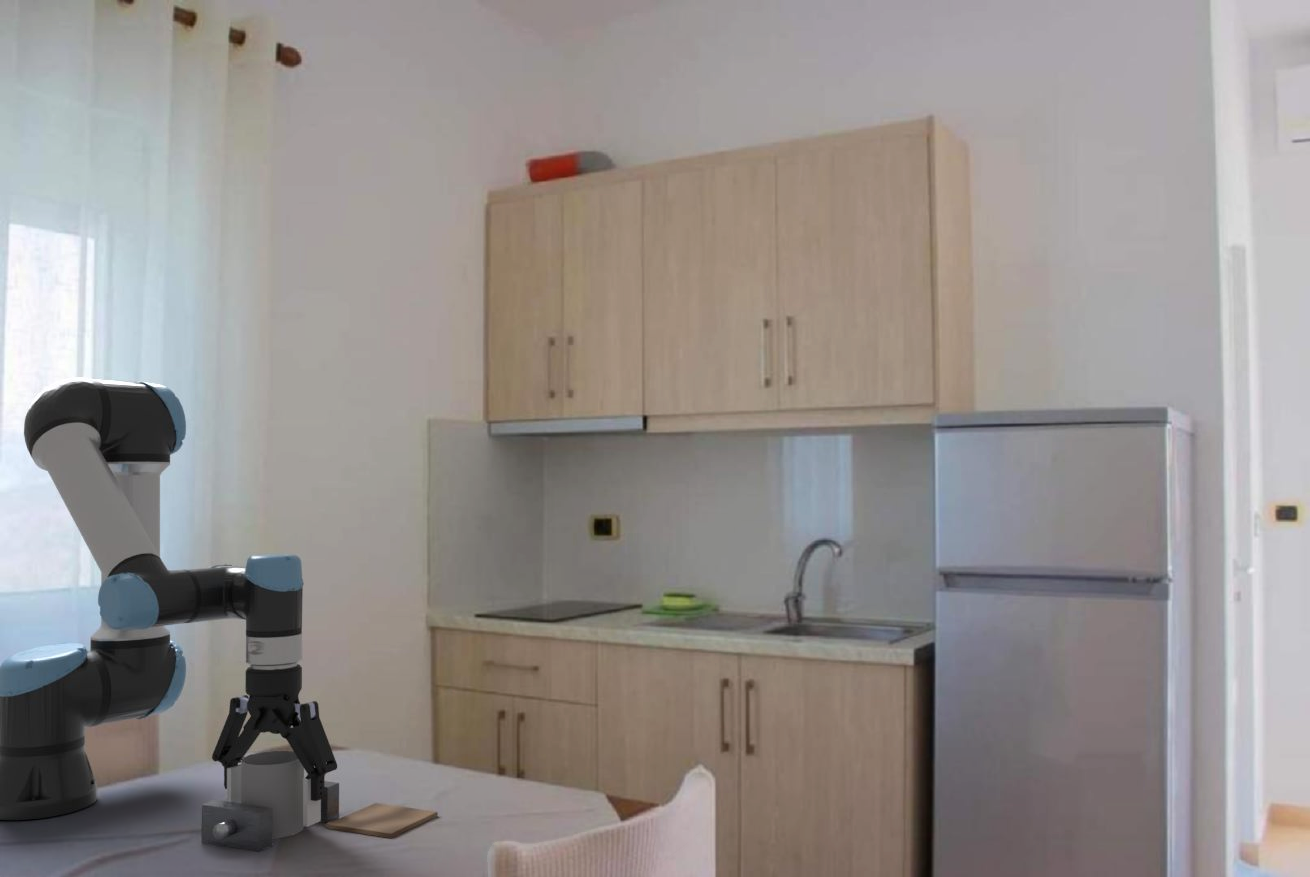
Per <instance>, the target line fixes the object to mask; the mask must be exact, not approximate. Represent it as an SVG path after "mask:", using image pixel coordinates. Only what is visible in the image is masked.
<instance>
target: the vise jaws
mask: <svg viewBox="0 0 1310 877" xmlns="http://www.w3.org/2000/svg"><path fill="white" fill-rule="evenodd" d="M339 818H340V783H339V782H334V781H326V780H324V798H323V799H321V821H320V823H325V824H327V823H330V822H332V821H334V820H337V819H339ZM272 826H273V808H268V807H261V806H254V805H248V804H241V803H234V802H228V801H227V800H221V799H214V800H211V801H209V802H206V803H203V804H201V832H200V833H201V835H200V836H201V841H200V842H201V843H204V844H211V845H216V846H223V847H228V848H236V849H239V850H246V851H251V852H258V853H260V852H261V851H264V850H267V849H268V848H269V849H270V848H271V847H273V839H272Z"/></svg>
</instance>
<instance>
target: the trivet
mask: <svg viewBox="0 0 1310 877" xmlns="http://www.w3.org/2000/svg"><path fill="white" fill-rule="evenodd" d="M438 814H439V813H438V811H437V810H436V811H435V810H428V809H421V808H414V807H413V808H412V807H407V806H399V805H391V804H385V803H378V802H375V803H373V804H370V805H368V806H366V807H363V808H361V809H358V810H356V811H354V812H351V813H349V814H346V815H343V816H341V817H339V818H338V819H335V820H333V821H331V822H328V823H325V824H326V825H325V827H326V829H329V830H335V831H336V830H337V831H343V832H347V833H348V832H349V833H357V834H360V835H361V834H362V835H369V836H375V837H382V838H387V839H392V838H395V837H397V836H398V835H401V834H402V833H404V832H407V831H408V830H411V829H413V828H415V827H417V826H420V825H422V824H423V823H426V822H427V821H429V820H432V819H434V818H436V817H438Z"/></svg>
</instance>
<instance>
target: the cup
mask: <svg viewBox="0 0 1310 877" xmlns="http://www.w3.org/2000/svg"><path fill="white" fill-rule="evenodd" d="M240 764H241V804H248V805H254V806H261V807H268V808H273V826H272V840H274V839H275V840H276V839H282V838H286V837H290V836H294V835H297V834H299V833H300V832H301V831H303V830H304V827H305V826H303V778H304V777H305V769H304V767H303V766H302V764H301V762H300V761H299V759H298V757H297V756H296V754H295V752H294V751H293V750H270V751H269V750H268V751H261V752H256V753H251V754H248V755H245V756H244V757H243V758H242V760H241V763H240Z"/></svg>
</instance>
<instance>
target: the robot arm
mask: <svg viewBox="0 0 1310 877" xmlns="http://www.w3.org/2000/svg"><path fill="white" fill-rule="evenodd" d="M186 422H187V421H186V415H185V410H184V407H183V405H182V403H181V400H180V399H179V398H178V397H177V396H176V394H175V392H174V391H172V390H171V389H170V388H169V387H167V386H164V385H162V384H157V383H150V382H146V381H140V380H137V381H130V380H129V381H128V380H115V379H114V380H113V379H110V380H109V379H96V378H95V379H94V378H93V379H92V378H85V377H70V378H65V379H62V380H59V381H56V382H53V383H52V384H50V385H49V386H46V387H45V388H44V389H43V390H42V391H41V392H39V393H38V394H37V395H36V397H35V398H34V399H33V401H32V402H31V403H30V406H28V409H27V412H26V415H25V417H24V422H23V423H24V425H23V426H24V427H23V438H24V443H25V446H26V449H27V451H28V452H29V455H30V458H32V461H33V462H34V464H35V465H36V466H37V467H38V468H40V469H41V470H44V471H47V473H48V474H49V476H50V478H51V480H52V481H53V482H52V483H53V484H54V486H55V487H56V490H57V491H58V494H59V495H60V497H61V499H62V501H63V503H64V505H65V506H66V508H67V510H68V512H69V514H70V516H71V518H72V520H73V522H74V524H75V525H76V528H77V529H78V531H79V534H80V535H81V537H82V538H83V541H84V542H85V544H86V546H87V548H88V550H89V551H90V553H91V555H92V557H93V559H94V562H95V563H96V566H97V567H98V569H99V570H100V572H101V574H100V577H101V578H100V579H101V580H100V582H101V583H100V587H99V590H98V595H97V604H98V606H99V609H100V610H99V615H100V620H101V621H100V626H99V628H98V629H97V630H96V631H94V632H93V633H92V635H91V636H90V645H89V646H90V649H89V650H88V649H87V647H86V645H84V644H83V643H79V642H78V643H77V642H76V643H75V642H73V643H72V642H67V643H66V642H63V643H59V644H54V645H53V644H49V645H42V646H37V647H35V648H33V647H32V648H29V649H26V650H23V651H20V652H17V653H14V654H12V655H10V656H9V657H7V658H6V659H4V660H3V662H2V663H1V665H0V821H26V820H34V819H35V820H36V819H44V818H50V817H51V818H52V817H56V816H60V815H66V814H70V813H73V812H77V811H80V810H83V809H85V808H88V807H89V806H91V805H93V804H94V803H96V801H97V800H98V796H97V795H98V784H97V781H96V779H95V776H94V773H93V772H94V771H93V769H92V767H91V764H90V761H89V758H88V755H87V753H86V744H85V743H86V741H85V739H86V728H90V727H96V726H97V727H98V726H102V725H106V724H112V723H117V722H125V721H129V720H135V719H136V720H143V719H147V718H148V717H150V716H155V715H159V714H163V713H165V712H167V711H168V710H169V709H171V708H172V707H173V706H174V705H175V703H176V701H178V700H179V698H180V696H181V694H182V692H183V689H184V686H185V682H186V676H187V664H186V657H185V656H183V653H184V652H183V650H182V648H181V646H180V645H179V644H178V643H176V641H173V640H171V631H170V630H169V629H168V628H167V627H165V626H172V625H179V624H193V623H200V622H210V621H217V620H228V619H230V620H231V619H233V620H234V619H235V620H245V663H246V664H247V665H248V666H249V667H247V669H246V670H245V688H244V689H245V693H246V694H244V695H239V696H236V697H232V698H230V699H229V700H230V701H229V712H228V715H227V718H226V720H225V722H224V725H223V728H222V730H221V732H220V736H219V738H218V740H217V743H216V745H215V747H214V750H213V753H212V755H211V759H212V760H213V762H219V763H220V764H221V765H222V767H223V778H224V779H223V786H224V789H225V790H226V801H228V802H234V803H241V761H242V759H243V758H244V757H246V755H247V752H248V751H249V750H250V749H251V747H252V746H253V744H254V742H255V741H256V740H257V739H258V737H259V736H260V734H261V733H264V734H265V733H268V732H269V733H271V734H273V735H274V734H275V735H280V736H281V737H282V738H283V739H285V740H286V741H287V743H288V744H289V746H290V748H291V749H292V751H294V752H295V754H296V756H297V757H298V759H299V761H300V762H301V764H302V766H303V767H304V772H306V774H307V775H306V776H304V778H303V826H304V827H310V826H312V825H315V824H317V823H319V822H320V821H321V799H323V798H324V781H325V776H326V774H328V773H330V772H333V771H336V770H337V769H338V764H337V760H336V758H335V755H334V753H333V749H332V747H331V744H330V741H329V739H328V736H327V734H326V731H325V729H324V726H323V723H322V720H321V718H320V710H319V708H320V707H319V703H318V702H317V701H316V700H314V701H310V702H306V703H300V700H299V699H300V697H299V695H300V692H301V691H302V689H303V667H302V666H301V664H299V663H300V662H301V661H302V660H303V633H302V632H303V631H302V630H303V591H304V590H303V586H304V579H303V570H302V560H301V558H300V557H299V556H298V555H296V554H291V553H284V554H283V553H282V554H281V553H270V554H269V553H266V554H254V555H250V556H249V557H248V558H247V560H246V566H236V565H232V564H222V565H221V564H218V565H210V566H207V567H204V568H202V567H201V568H193V569H175V570H169V569H168V567H167V566H166V564H165V563H164V562H163V560H162V558H161V475H162V473H163V472H164V471H165V470H166V469H167V468H168V467H169V466H171V455H173V454H175V453H178V451H179V450H180V449H181V448H182V446H183V445H184V443H183V441H184V440H185V438H186V434H187V423H186ZM248 713H249V715H250V716H249V718H248V719H247V721H246V718H247V716H248ZM242 729H243V730H242ZM320 823H321V822H320Z"/></svg>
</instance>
